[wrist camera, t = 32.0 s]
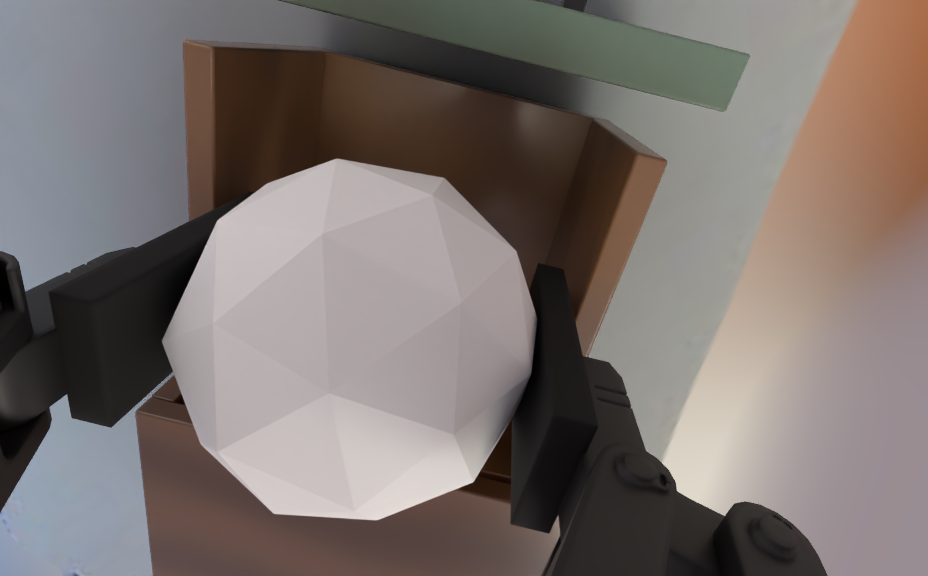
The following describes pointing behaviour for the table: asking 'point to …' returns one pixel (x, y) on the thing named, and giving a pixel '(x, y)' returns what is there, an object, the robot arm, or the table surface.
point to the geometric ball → (353, 341)
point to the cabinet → (312, 520)
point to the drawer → (460, 129)
